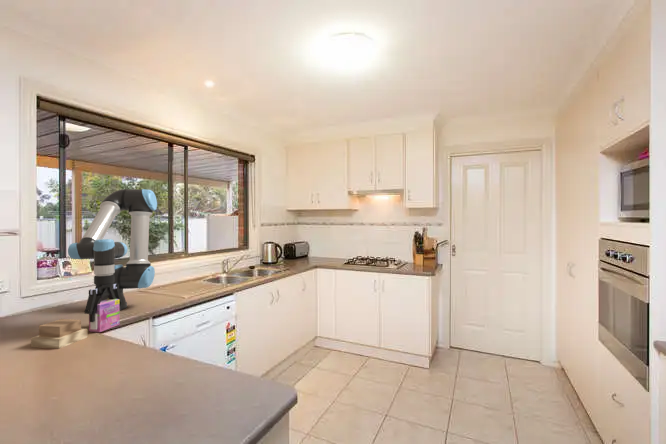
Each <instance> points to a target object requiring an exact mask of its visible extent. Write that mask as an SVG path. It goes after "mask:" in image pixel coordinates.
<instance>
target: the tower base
mask: <svg viewBox="0 0 666 444" xmlns="http://www.w3.org/2000/svg"><path fill="white" fill-rule="evenodd" d="M86 338H88V328H82V327H81V330H79V331H76V332H73V333H71V334H68V335H65V336H63V337H40V336H39V334H38V335H36V336H33V337H31V338H30V347H31V348H37V349H38V348H43V349H57V350H58V349H62V348H65V347H66V346H69V345H72V344H74V343H77V342H79V341H81V340H85V339H86Z"/></svg>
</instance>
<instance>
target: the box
mask: <svg viewBox="0 0 666 444" xmlns="http://www.w3.org/2000/svg"><path fill="white" fill-rule="evenodd" d="M119 300H120V299H106V300H103V301H101V302H100V304H98V305H97V311H96V313H97V315H98V329H90V321H89V320H88V332H91V333H93V332H94V333H102V332H104V331H107V330H110V329H111V328H115V327H117V326H120V323H121V322H120V318H121V317H120V310H119Z"/></svg>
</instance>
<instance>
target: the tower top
mask: <svg viewBox="0 0 666 444" xmlns="http://www.w3.org/2000/svg"><path fill="white" fill-rule="evenodd" d="M81 328H82V319H73V318H72V319H70V318H60V319H57V320H53V321H50V322H47V323H44V324H41V325H38V335H39V336H40V337H63V336H65V335H68V334H71V333H73V332H76V331H79V330H81Z"/></svg>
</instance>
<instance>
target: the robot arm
mask: <svg viewBox="0 0 666 444" xmlns="http://www.w3.org/2000/svg"><path fill="white" fill-rule="evenodd" d="M157 208H158V200H157V197H156V194H155V192H154V191H153V190H151V189H145V188H141V189H136V188H135V189H134V188H133V189H130V188H121V189H118V190H115V191H113V192H111V193H110V194H109V195H107V196H105V198H104V199H102V200H101V203H100V204H99V210H98V211H97V213H96V214H95V217H94V218H93V220H92V221H91V222H90V225H89V226H88V228H87V230H86V231H85V233H84V234H83V236H82V237H81V239H80V241H79V242H73V243H71V244H69V245H68V249H67V254H68V256H69V258H70V259H73V260H93V275H94V276H93V285H95V288H93V289H89V290H88V296H87V302H86V305H85V310H84V314H85V315H88V322H89V321H90V329H98V315H97V313H96V311H97V305H98V304H100V302H101V301H103V300H106V299H120V300H119V311H121V310H125V309H127V308H128V302H127V301H126V297H125V294H124V290H126V289H127V290H128V289H129V290H130V289H134V290H135V289H139V290H140V289H148V288H150V287H151V285H152V284H153V282H154V279H155V274H156V272H155V267H154V266H153V265H152V264H151V261H149V241H150V240H149V239H150V238H149V233H150V217H151V216H152V215H154V214H153V212H154V211H156V210H157ZM124 211H128V215H130V217H131V220H130V221H131V222H130V243H129V244H130V246H129V260H128V261H127V262H125V266H124V265H123V264H122V263H121V264H120V263H119V264H116V263H115V259H121V258H122V257H125V255H126V254H127V253H128V246H127V244H126V243H124V242H122V241H114V239H112V238H104V237H105V235H106V234H107V232H108V230H109V229H110V226H111V224H112V223H113V221H114V219H115V217H116V216H118V215H119V214H120V213H121V212H124Z"/></svg>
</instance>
